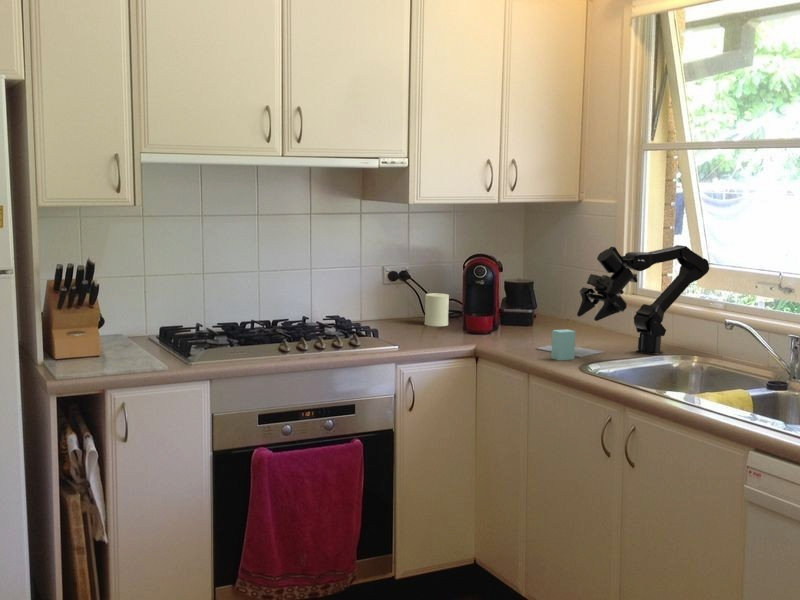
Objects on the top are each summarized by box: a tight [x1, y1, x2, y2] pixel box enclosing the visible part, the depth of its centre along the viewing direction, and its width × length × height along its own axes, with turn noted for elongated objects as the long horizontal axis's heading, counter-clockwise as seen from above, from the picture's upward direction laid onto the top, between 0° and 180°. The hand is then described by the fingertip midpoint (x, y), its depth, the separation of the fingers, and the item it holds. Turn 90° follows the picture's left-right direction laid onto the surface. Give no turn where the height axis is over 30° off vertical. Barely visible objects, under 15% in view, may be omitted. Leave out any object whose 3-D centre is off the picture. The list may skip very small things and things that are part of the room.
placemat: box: [535, 344, 604, 359], centre depth 301 cm, size 18×13×1 cm
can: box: [424, 292, 450, 327], centre depth 348 cm, size 9×9×12 cm
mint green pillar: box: [550, 328, 577, 361], centre depth 288 cm, size 4×6×9 cm, turn 114°
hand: (586, 317), depth 290 cm, fingers open, 9 cm apart
